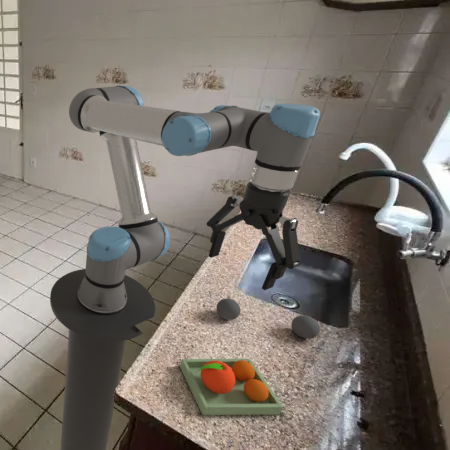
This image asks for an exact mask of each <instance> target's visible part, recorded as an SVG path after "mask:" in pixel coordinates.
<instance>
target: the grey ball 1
mask: <svg viewBox="0 0 450 450" xmlns="http://www.w3.org/2000/svg"><path fill="white" fill-rule="evenodd" d="M215 307H216V312H217V314H218V316H219V317H220V318H222V319H223V320H225V321H226V320H227V321H232V320H236V319H237V318H239V316H240V315H241V313H242V312H241V310H242V309H241V306H240V304H239V303H238V302H237V301H236V300H234V299H233V298H222V299H220V300H219V301H218V302H217V304H216V306H215Z"/></svg>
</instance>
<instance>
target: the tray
mask: <svg viewBox="0 0 450 450" xmlns="http://www.w3.org/2000/svg"><path fill="white" fill-rule="evenodd" d="M238 360H244V361H247V362H248V363H250V364H251V365H252V366H253V368H254V370H255V376H254V378H253V379H256V380H259V381H261V382H263V383H264V384H265V385H266V387H267V388H268V391H269V396H268V398H267V399H266V400H265V401H263V402H255V401H252V400H251V399H249V398H248V397H247V396H246V394H245V392H244V384H245V383H246V382H247V381H241V380H239V379H237V378H236V377H235V385H234V387H233V389H232V390H231V391H229V392H228V393H225V394H218V393H214V392H212V391H210V390H209V389H208V388H207V387H206V386H205V385H204V384H203V382H202V380H201V375H200V374H201V369H200V368H201V367H203V365H204V364H206V363H207V362H209V361H221V362H223V363H225V364H227V365H228V366H229V367H230V368H231V370H232V365H233V363H234V362H236V361H238ZM179 368H180V370H181V372H182V374H183V376H184V378H185V381H186V383H187V385H188V387H189V389H190V391H191V393H192V396H193V398H194V400H195V402H196V404H197V406H198V409H199V410H200V413H201V414H202V415H201V416H233V415H234V416H236V415H237V416H240V415H241V416H242V415H244V416H246V415H248V416H249V415H250V416H251V415H252V416H253V415H254V416H255V415H256V416H257V415H270V416H271V415H281V412H282V411H283V409H284V406H283V404H282V402H281V401H280V399H279V398H278V397H277V396H276V394H275V392H274V391H273V389H272V388H271V387H270V386H269V384H268V383H267V381H266V380H265V378H264V376H263V375H262V374H261V373H260V371H259V370H258V368H257V366H256V365H255V364H254V362H253V361H252V359H251V358H182V359H181V361H180V364H179ZM199 369H200V370H199ZM198 370H199V371H198Z"/></svg>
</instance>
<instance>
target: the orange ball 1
mask: <svg viewBox="0 0 450 450" xmlns="http://www.w3.org/2000/svg"><path fill="white" fill-rule="evenodd" d="M232 371H233V373H234V376H235V377H236V378H237V379H239V380H241V381H248V380H251V379H253V378H254V376H255V370H254V368H253V366H252V365H251V364H250V363H248V362H247V361H244V360H238V361H236V362H234V363H233V365H232Z"/></svg>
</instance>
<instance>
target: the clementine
mask: <svg viewBox="0 0 450 450" xmlns="http://www.w3.org/2000/svg"><path fill="white" fill-rule="evenodd" d="M200 369H201V374H200V375H201V380H202V382H203V384H204V385H205V386H206V387H207V388H208V389H209V390H210V391H212V392H214V393H218V394H225V393H228V392H229V391H231V390H232V389H233V387H234V385H235V376H234V373H233V371H232V370H231V368H230V367H229V366H228V365H227V364H225V363H223V362H221V361H209V362H207V363H206V364H204V365H203V367H201V368H200ZM200 369H199V370H200ZM199 370H198V371H199Z"/></svg>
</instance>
